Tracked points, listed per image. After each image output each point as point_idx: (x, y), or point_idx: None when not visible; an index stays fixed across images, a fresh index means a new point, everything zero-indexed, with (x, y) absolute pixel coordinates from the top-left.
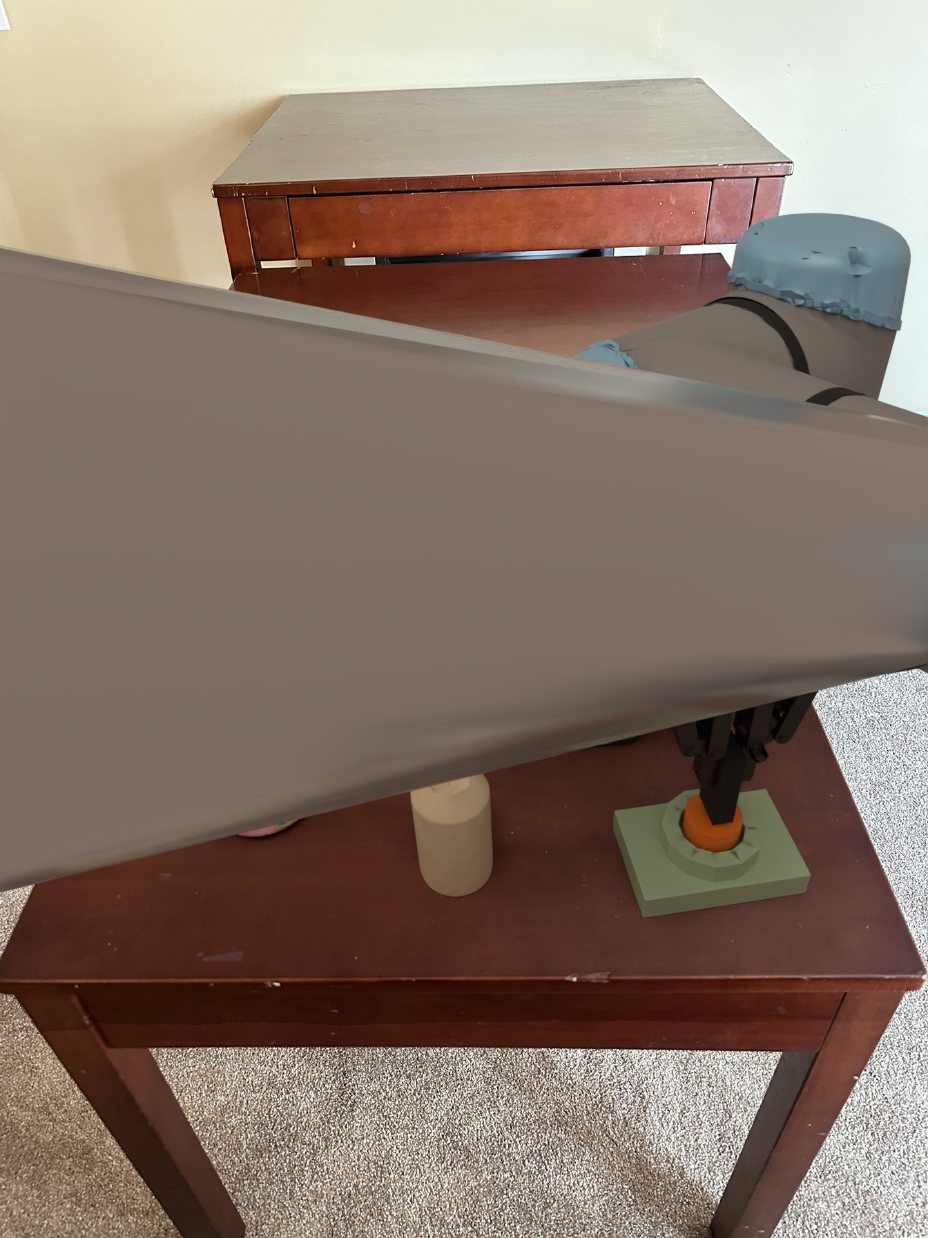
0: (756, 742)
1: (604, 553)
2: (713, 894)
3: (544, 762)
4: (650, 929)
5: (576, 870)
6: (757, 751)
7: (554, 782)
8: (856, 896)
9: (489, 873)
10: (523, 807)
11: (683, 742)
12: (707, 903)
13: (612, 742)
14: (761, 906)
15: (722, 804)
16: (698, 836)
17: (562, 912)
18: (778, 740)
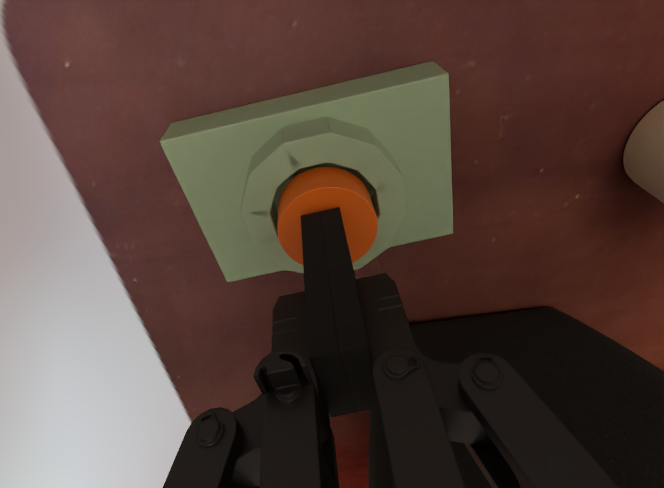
0: (289, 412)
1: None
2: (325, 97)
3: (501, 295)
4: (424, 40)
5: (509, 142)
6: (284, 384)
7: (497, 270)
8: (89, 122)
9: (647, 125)
10: (548, 233)
11: (533, 408)
12: (331, 88)
13: (416, 326)
14: (241, 94)
15: (333, 243)
16: (358, 188)
17: (553, 66)
18: (225, 420)
